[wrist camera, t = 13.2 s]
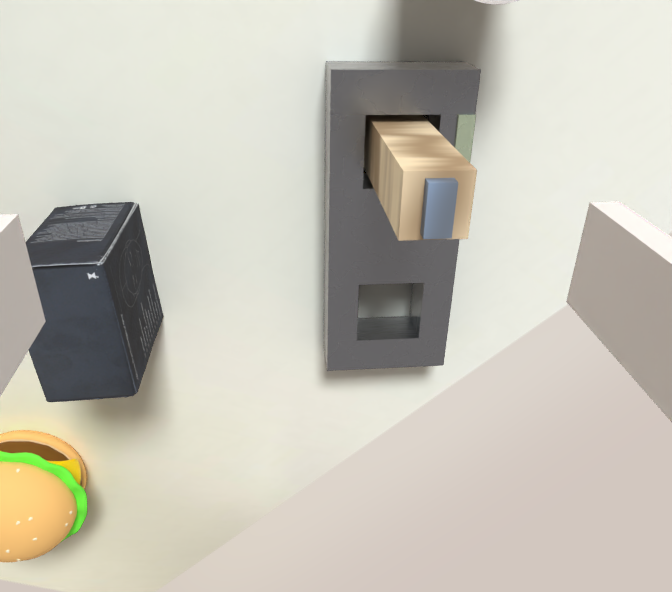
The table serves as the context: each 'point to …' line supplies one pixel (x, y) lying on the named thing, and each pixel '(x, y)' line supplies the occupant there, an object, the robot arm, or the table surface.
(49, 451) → the toy hamburger
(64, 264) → the box
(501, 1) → the cup
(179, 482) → the table surface
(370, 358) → the panel
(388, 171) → the plug
